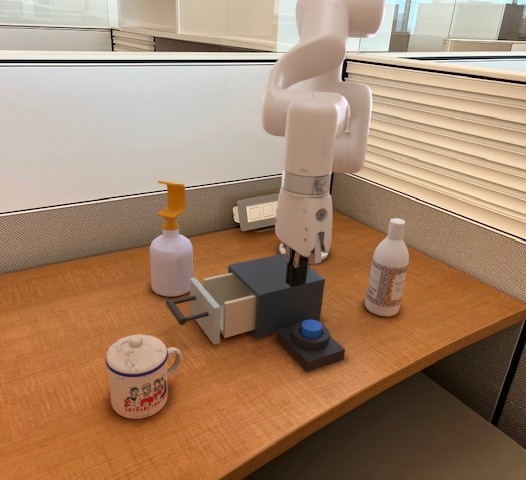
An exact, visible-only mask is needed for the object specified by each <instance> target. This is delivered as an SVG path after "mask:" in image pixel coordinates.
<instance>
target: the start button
mask: <svg viewBox="0 0 526 480" xmlns="http://www.w3.org/2000/svg"><path fill="white" fill-rule="evenodd" d="M321 324H322V323H321V322H320V321H316V320H311V319H309V320H305V321H303V322H302V327H301V334H302V335H303V336H305V337H307V338H314V339H315V338H319V337H320V336H321V332H322V325H321Z"/></svg>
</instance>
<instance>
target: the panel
mask: <svg viewBox="0 0 526 480" xmlns="http://www.w3.org/2000/svg"><path fill="white" fill-rule="evenodd" d="M302 322H303V321H302ZM302 322H299V323H297V324H296V325H293V326H290V327H286V328H283V329H279V330H277V333H276V337H275V340H276V341H277V342H278V343H279V344H280V346H282V348H283V349H285V351H286V352H287V353H288V354H289V355H290V356H291V357H292V358H293V360H295V361H296V362H297V364H299V366H300V367H301V368H302V369H303V370H304V371H305V372H306V373H308V372H311V371H315V370H316V369H317V370H318V369H320V368H322V367H325V366H328V365H331V364H334V363H337V362H341V361H343V360H344V359H345V354H346V348H344V347H343V346H342V345H341V344H340V343H338V341H337V340H335V339H334V337H332V336H331V334H330V330H329V328H328V327H326V325H325V324H323V323H321V325H322V332H321V336H320V337H319V338H315V339H314V338H307V337H305V336H303V335H302V334H301V327H302Z"/></svg>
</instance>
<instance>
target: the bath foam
mask: <svg viewBox="0 0 526 480" xmlns="http://www.w3.org/2000/svg"><path fill="white" fill-rule="evenodd" d="M405 228H406V221H405V220H404V219H402V218H396V217H395V218H394V217H393V218H391V219H390V220H389V224H388V230H387V236H386V237H385V238H384V239H382V240H381V241H380V242H379V244H378V245H377V246H376V248H375V250H374V251H373V255H372V260H371V265H370V272H369V277H368V282H367V288H366V295H365V301H364V302H365V303H364V306H365V308H366V309H367V310H368V312H370V313H371V314H374V315H376V316H378V317H379V316H380V317H393V316H395V315H397V314H398V313H399V311H400V306H401V301H402V296H403V292H404V287H405V282H406V278H407V273H408V268H409V263H410V262H409V261H410V254H409V249H408V247H407V245H406V243H405V241H404V239H403V238H404V234H405Z"/></svg>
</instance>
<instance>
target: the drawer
mask: <svg viewBox="0 0 526 480" xmlns="http://www.w3.org/2000/svg"><path fill="white" fill-rule="evenodd" d="M183 303H189V313H190V315H188V316H184V314H183V313H182V311H181V310H180V308H179V307H178V306H177V305H179V304H183ZM256 303H257V296H256V295H255V294H254V293H253V292H252V291H251V290H250V289H249V288H248V287H246V286H245V285H244V284H243V283H242V282H241V281H240V280H239V279H238V278H237V277H236V276H235V275H234V274H233V273H228V272H227V273H223V274H218V275H214V276H209V277H205V278H203V279H202V283H201V282H200V281H199V280H198V279H197V277H193V278H191V279H190V291H189V296H187V297H183V298H178V299H174V300H173V299H172V298H168V299H166V301H165V305H166V307H167V308H168V309H169V311H170V313H171V314H172V315H173V317H174V318H175V320H176V322H178V324H179V325H180V326H184V325H186V324H187V322H191V321H194V320H195V321H196V323H197V324H198V325H199V327H200V328H201V330H202V331H203V332H204V334H205V335H206V336H207V338H208V339H209V340H210V342H211V343H212V344H213V346H215V345H219V344H221V335H222V336H223V338H224V339H227V338H229V337H233V336H237V335H241V334H244V333H248V332H250V331H251V330H255V319H256Z"/></svg>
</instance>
